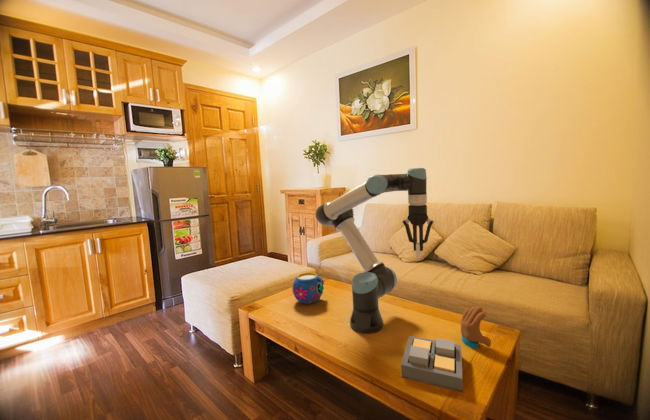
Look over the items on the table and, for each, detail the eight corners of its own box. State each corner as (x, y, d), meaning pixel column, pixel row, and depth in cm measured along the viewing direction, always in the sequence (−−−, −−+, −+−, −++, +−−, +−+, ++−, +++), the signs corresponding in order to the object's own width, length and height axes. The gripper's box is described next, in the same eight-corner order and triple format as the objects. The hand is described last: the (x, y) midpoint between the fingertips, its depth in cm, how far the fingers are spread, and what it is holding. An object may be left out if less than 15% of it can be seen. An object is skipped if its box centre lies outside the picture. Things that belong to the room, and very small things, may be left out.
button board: (401, 377, 93) (401, 364, 93) (409, 346, 110) (409, 335, 109) (462, 392, 85) (462, 378, 85) (461, 356, 102) (461, 345, 101)
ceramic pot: (324, 307, 148) (322, 280, 146) (291, 309, 148) (289, 282, 146) (324, 294, 165) (323, 270, 163) (295, 295, 165) (293, 271, 164)
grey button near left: (409, 366, 94) (408, 355, 93) (411, 355, 99) (411, 345, 99) (427, 370, 91) (427, 359, 91) (429, 359, 97) (429, 348, 96)
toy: (492, 352, 103) (492, 314, 102) (475, 354, 103) (475, 316, 101) (472, 334, 115) (472, 300, 114) (456, 336, 115) (456, 301, 113)
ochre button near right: (434, 377, 91) (434, 365, 90) (435, 365, 96) (435, 355, 96) (454, 382, 88) (454, 370, 88) (454, 370, 93) (454, 359, 93)
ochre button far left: (412, 357, 101) (412, 347, 101) (414, 348, 107) (414, 338, 106) (429, 361, 99) (429, 350, 98) (431, 351, 104) (430, 341, 104)
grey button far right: (435, 357, 98) (435, 346, 97) (436, 347, 103) (436, 337, 103) (454, 361, 95) (454, 350, 95) (454, 351, 100) (454, 340, 100)
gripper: (400, 205, 118) (401, 259, 120) (432, 205, 111) (433, 261, 114) (404, 203, 124) (405, 254, 127) (434, 203, 118) (435, 256, 120)
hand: (418, 257), depth 120 cm, fingers closed
